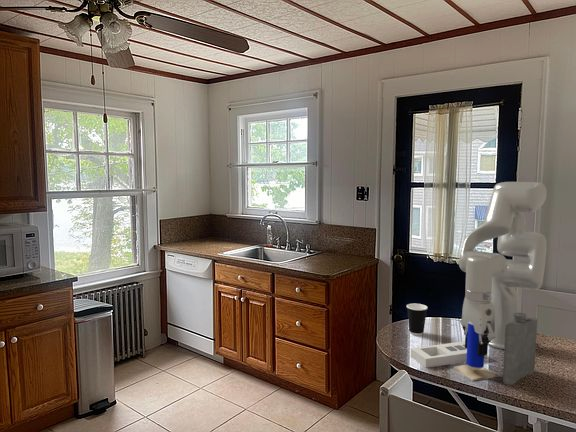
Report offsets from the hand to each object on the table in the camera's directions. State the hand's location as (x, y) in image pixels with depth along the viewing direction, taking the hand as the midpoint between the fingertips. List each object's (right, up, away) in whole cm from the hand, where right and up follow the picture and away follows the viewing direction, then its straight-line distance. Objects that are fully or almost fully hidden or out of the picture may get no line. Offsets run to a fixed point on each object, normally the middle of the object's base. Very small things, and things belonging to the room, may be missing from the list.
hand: (475, 350), depth 140 cm
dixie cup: (-9, -4, +34) cm, 36 cm away
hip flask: (+12, -8, -2) cm, 14 cm away
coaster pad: (0, -7, +1) cm, 7 cm away
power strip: (-4, -6, +12) cm, 14 cm away
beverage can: (0, -5, +1) cm, 5 cm away
